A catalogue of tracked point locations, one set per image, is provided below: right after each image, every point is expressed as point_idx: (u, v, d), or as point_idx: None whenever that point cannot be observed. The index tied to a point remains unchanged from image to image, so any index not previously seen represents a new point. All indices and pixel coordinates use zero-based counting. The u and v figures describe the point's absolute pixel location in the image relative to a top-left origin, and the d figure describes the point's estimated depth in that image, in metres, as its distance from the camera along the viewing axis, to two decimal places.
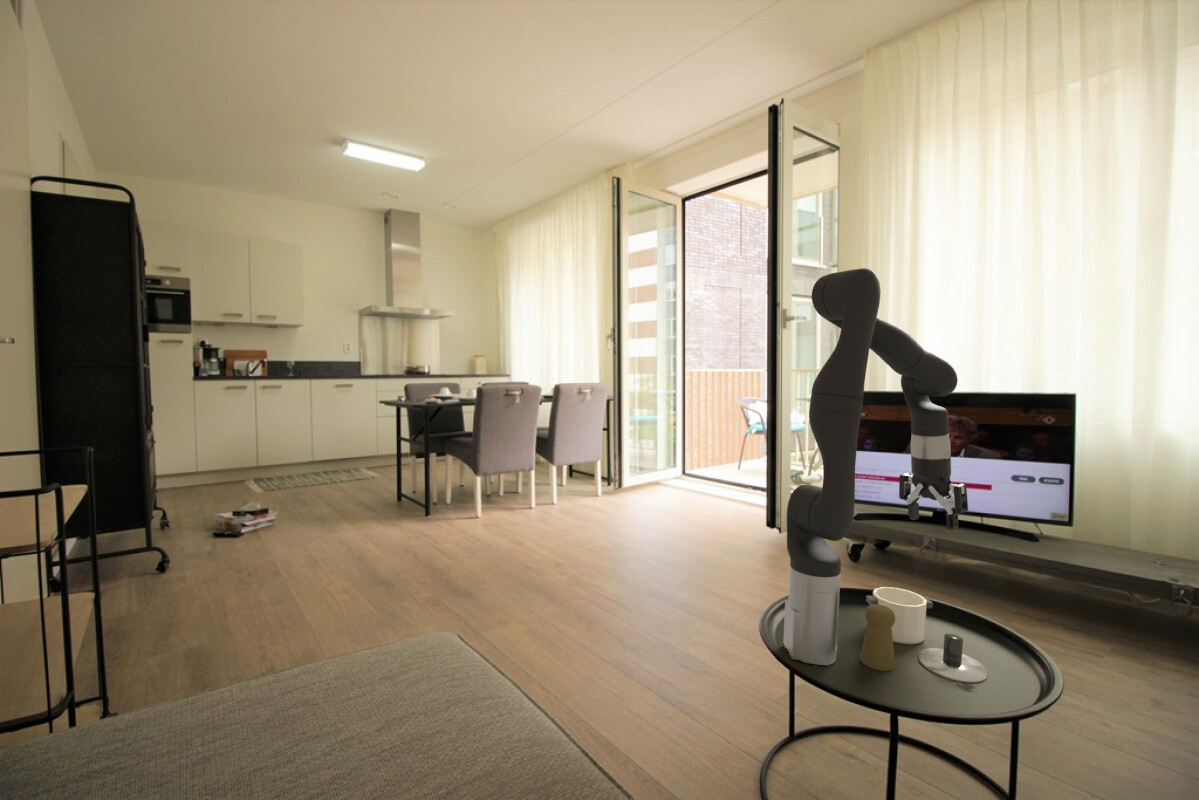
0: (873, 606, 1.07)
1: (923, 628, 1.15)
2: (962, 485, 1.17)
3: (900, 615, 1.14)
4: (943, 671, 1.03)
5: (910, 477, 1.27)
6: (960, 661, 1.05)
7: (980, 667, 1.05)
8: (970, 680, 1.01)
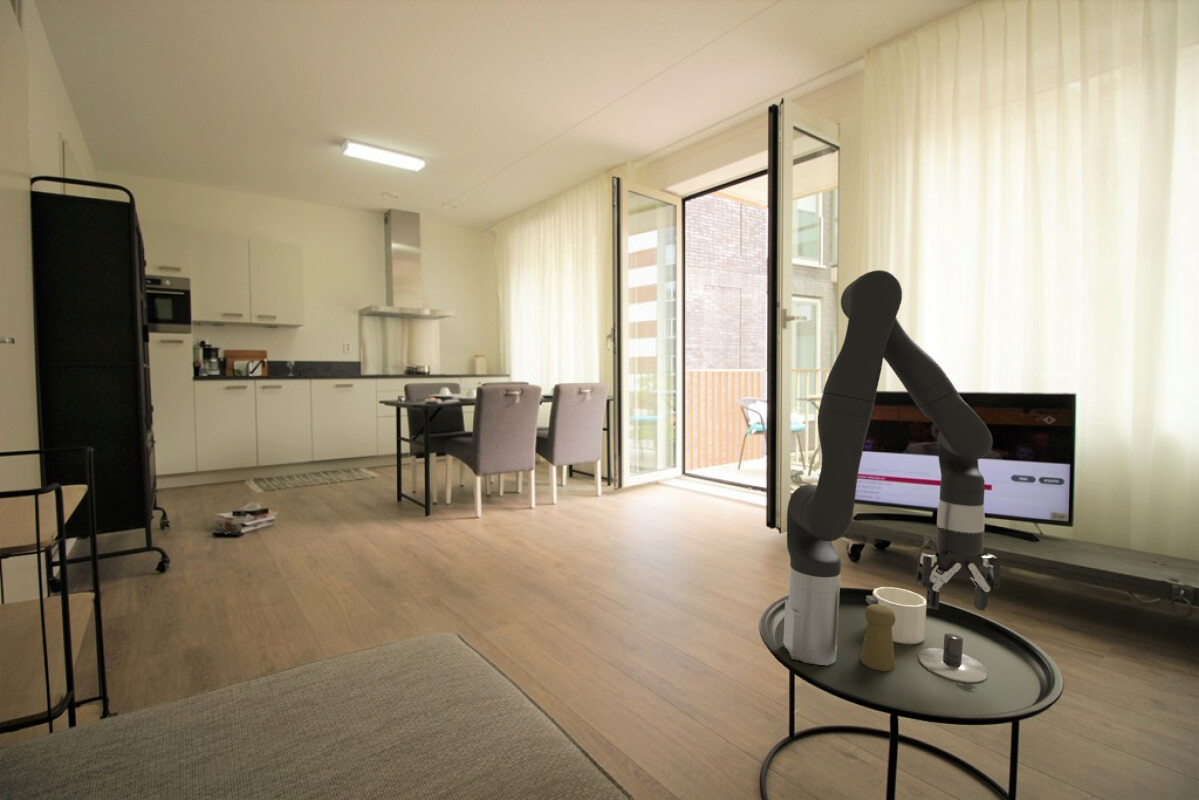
0: (873, 606, 1.07)
1: (923, 628, 1.15)
2: (924, 555, 1.05)
3: (900, 615, 1.14)
4: (943, 671, 1.03)
5: None
6: (960, 661, 1.05)
7: (980, 667, 1.05)
8: (970, 680, 1.01)
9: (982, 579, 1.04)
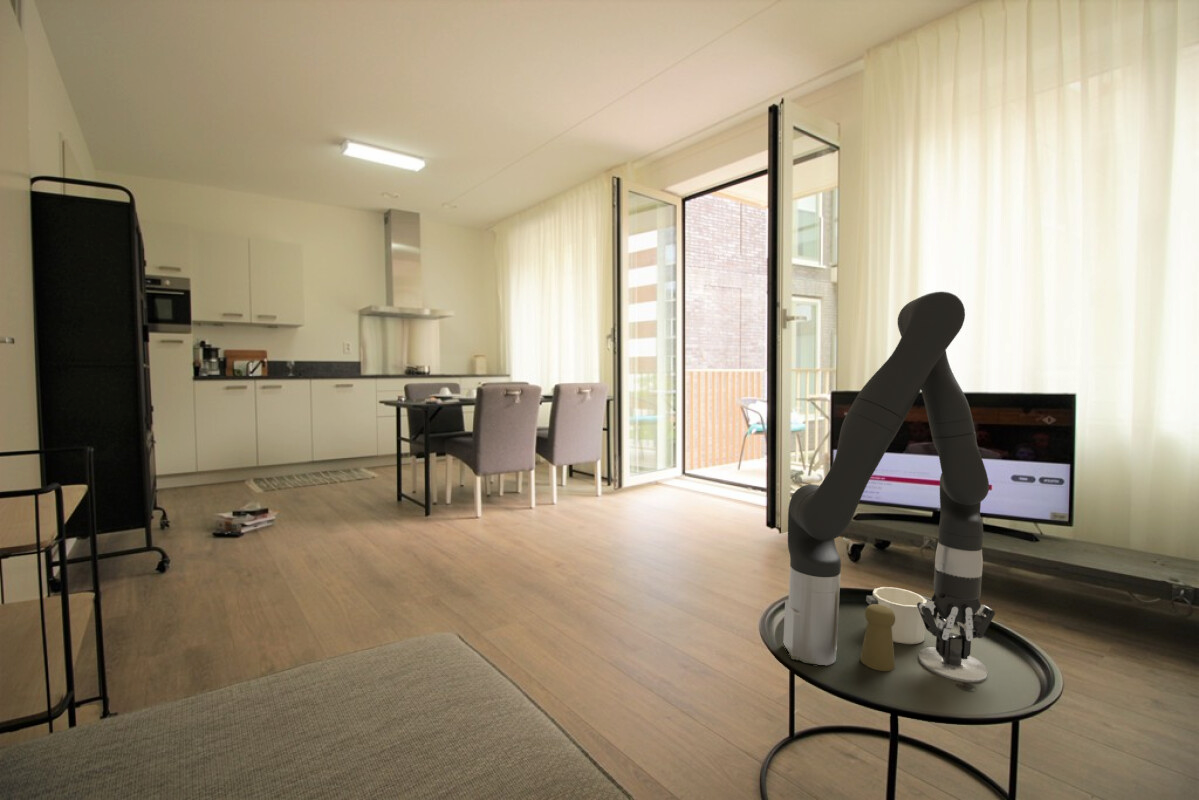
0: (873, 606, 1.07)
1: (923, 628, 1.15)
2: (922, 607, 1.05)
3: (900, 615, 1.14)
4: (943, 670, 1.03)
5: None
6: (960, 660, 1.05)
7: (980, 666, 1.05)
8: (970, 678, 1.01)
9: (971, 627, 1.04)
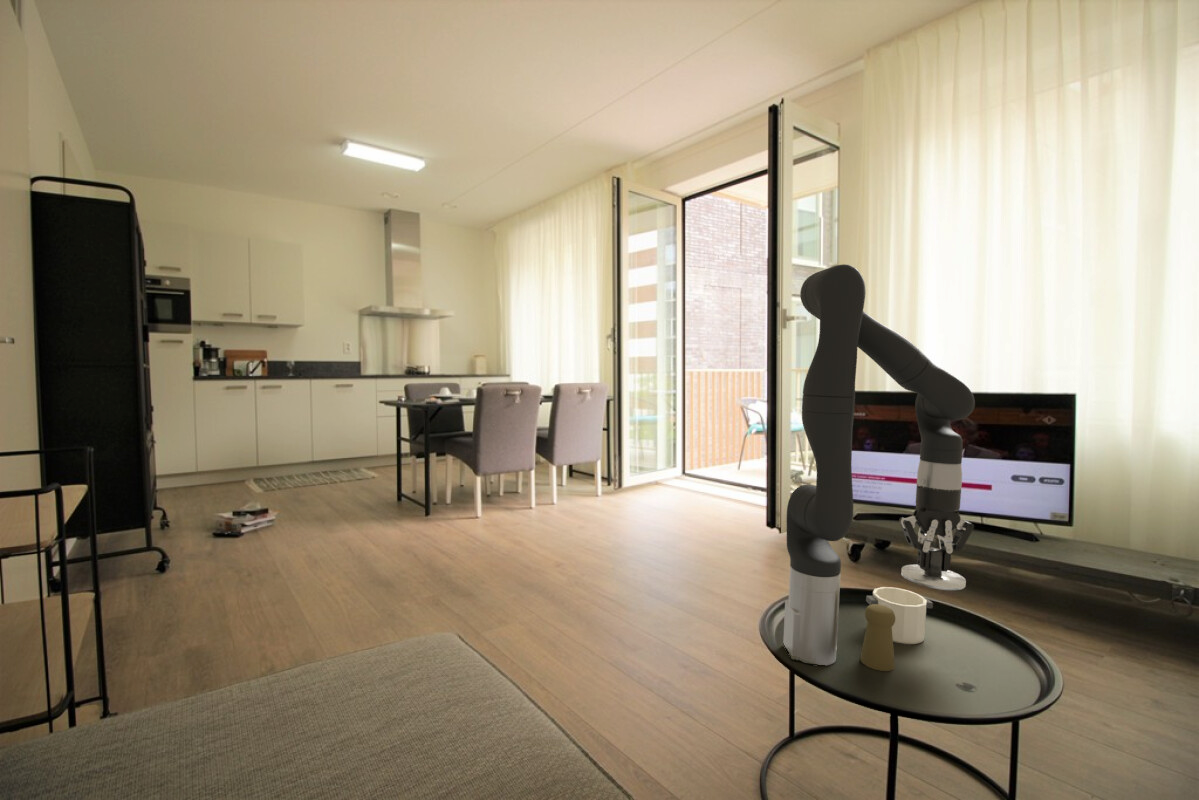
0: (873, 606, 1.07)
1: (923, 628, 1.15)
2: (903, 521, 1.10)
3: (900, 615, 1.14)
4: (923, 579, 1.07)
5: None
6: (940, 572, 1.09)
7: (959, 578, 1.09)
8: (948, 586, 1.05)
9: (950, 539, 1.08)
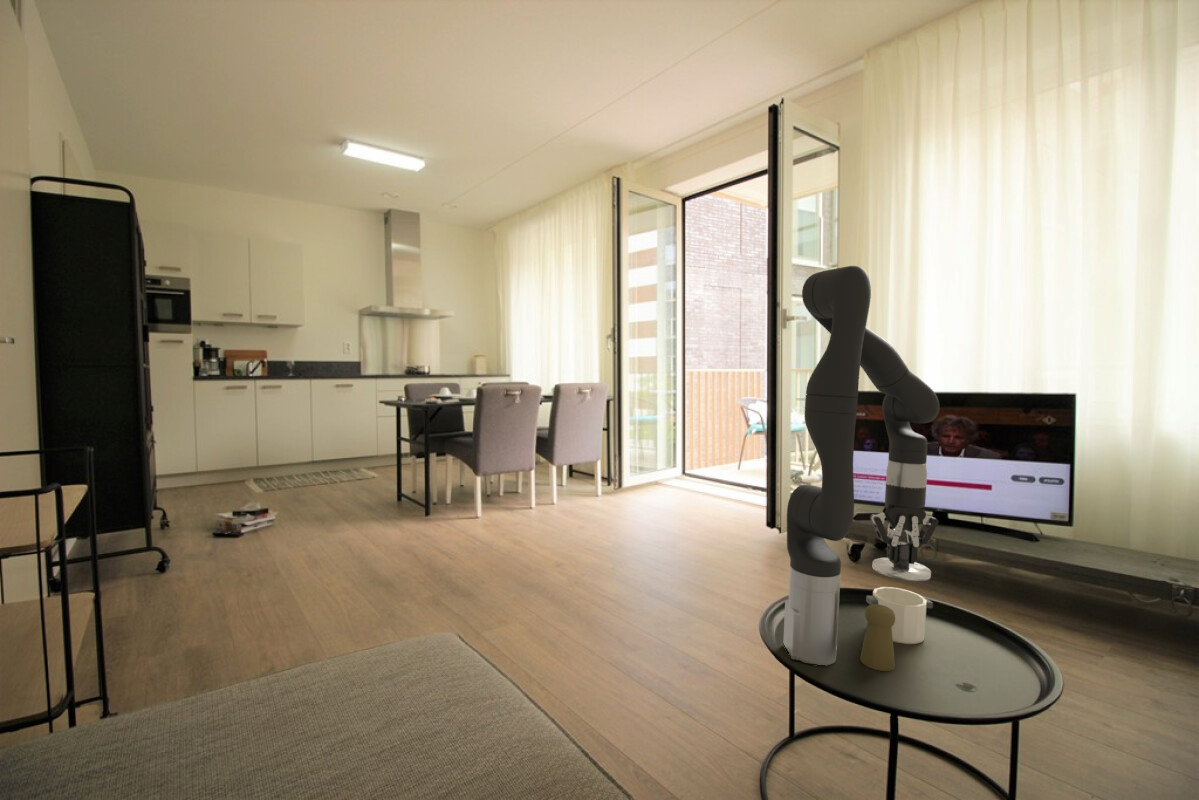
0: (873, 606, 1.07)
1: (923, 628, 1.15)
2: (873, 517, 1.18)
3: (900, 615, 1.14)
4: (891, 571, 1.15)
5: None
6: (908, 564, 1.17)
7: (925, 569, 1.17)
8: (914, 577, 1.13)
9: (917, 534, 1.16)
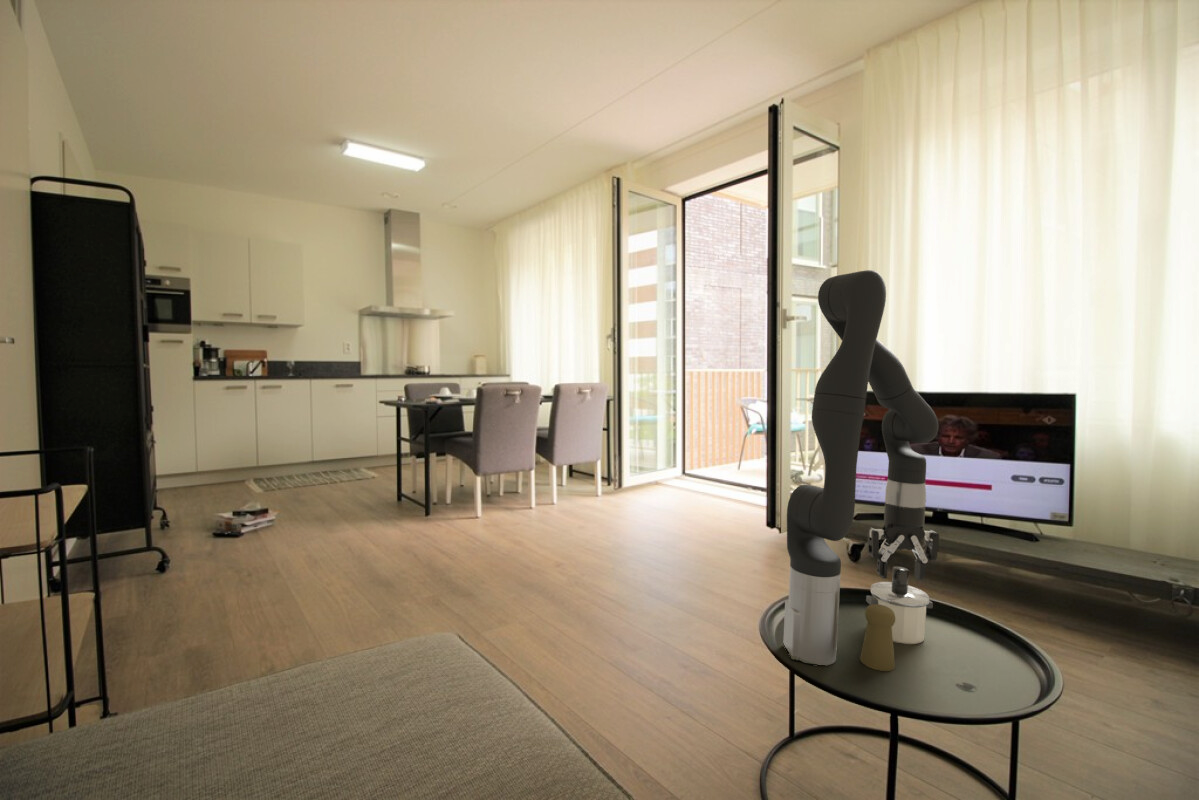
0: (873, 606, 1.07)
1: (923, 628, 1.15)
2: (872, 530, 1.18)
3: (900, 615, 1.14)
4: (890, 597, 1.16)
5: None
6: (906, 589, 1.18)
7: (923, 595, 1.17)
8: (913, 603, 1.13)
9: (921, 551, 1.16)
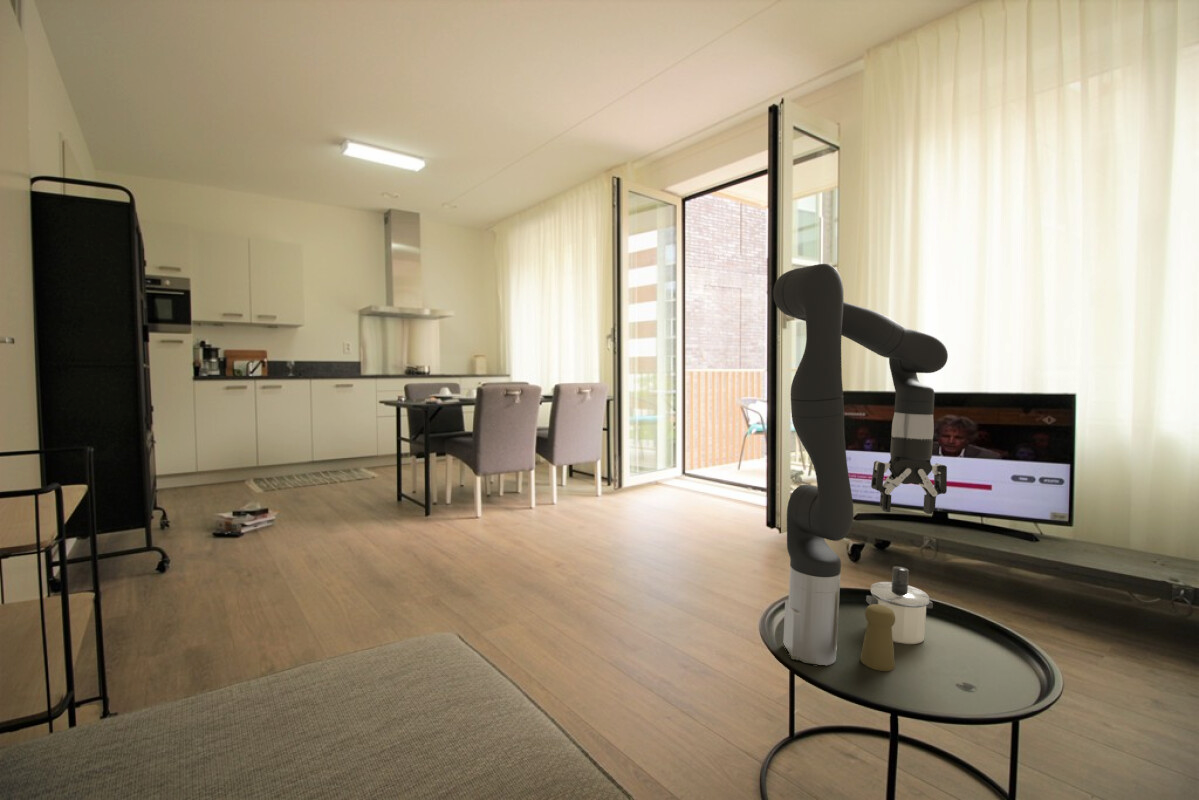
0: (873, 606, 1.07)
1: (923, 628, 1.15)
2: (879, 462, 1.15)
3: (900, 615, 1.14)
4: (890, 597, 1.16)
5: None
6: (906, 589, 1.18)
7: (923, 595, 1.17)
8: (913, 603, 1.13)
9: (930, 484, 1.14)
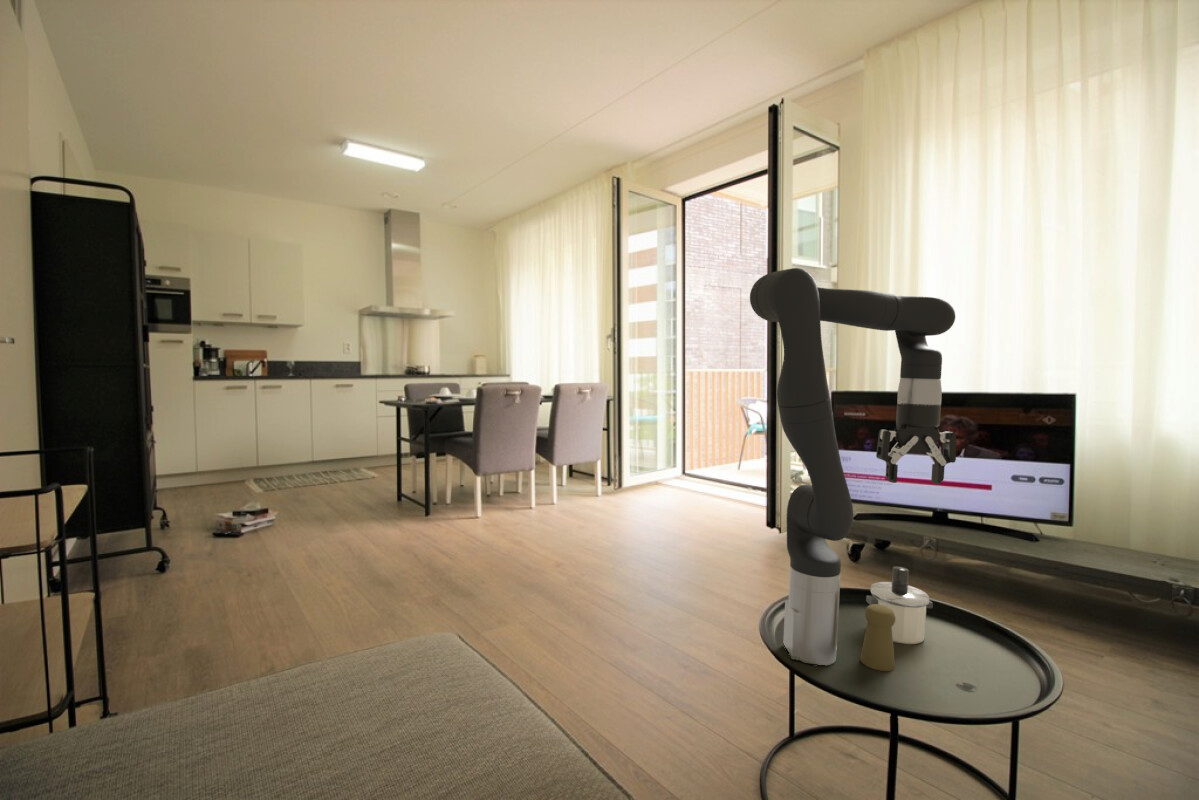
0: (873, 606, 1.07)
1: (923, 628, 1.15)
2: (884, 430, 1.10)
3: (900, 615, 1.14)
4: (890, 597, 1.16)
5: None
6: (906, 589, 1.18)
7: (923, 595, 1.17)
8: (913, 603, 1.13)
9: (938, 452, 1.08)
